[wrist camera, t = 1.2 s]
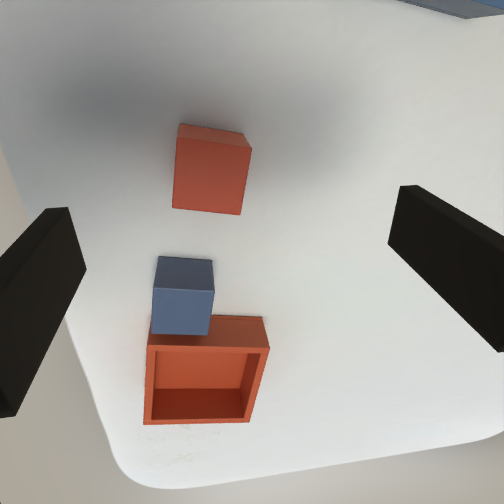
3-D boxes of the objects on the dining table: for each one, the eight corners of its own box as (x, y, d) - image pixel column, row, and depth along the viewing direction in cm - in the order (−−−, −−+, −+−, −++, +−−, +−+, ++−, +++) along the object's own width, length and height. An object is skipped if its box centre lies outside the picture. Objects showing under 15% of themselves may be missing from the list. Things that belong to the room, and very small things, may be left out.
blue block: (158, 255, 32) (152, 287, 28) (212, 260, 33) (215, 291, 29) (155, 298, 34) (150, 334, 30) (206, 301, 35) (207, 335, 31)
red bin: (152, 312, 35) (146, 345, 31) (262, 317, 37) (270, 348, 34) (148, 389, 40) (143, 425, 36) (244, 388, 43) (249, 422, 39)
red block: (179, 123, 26) (177, 136, 22) (243, 133, 27) (252, 148, 23) (174, 185, 29) (171, 208, 24) (233, 192, 30) (240, 215, 26)
